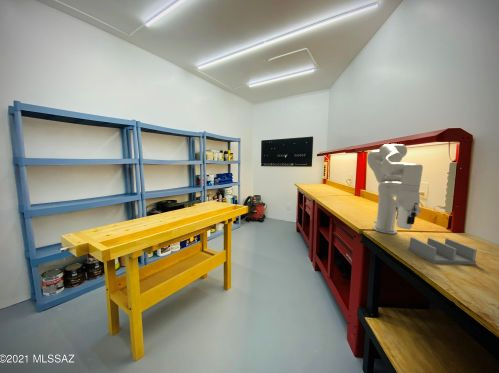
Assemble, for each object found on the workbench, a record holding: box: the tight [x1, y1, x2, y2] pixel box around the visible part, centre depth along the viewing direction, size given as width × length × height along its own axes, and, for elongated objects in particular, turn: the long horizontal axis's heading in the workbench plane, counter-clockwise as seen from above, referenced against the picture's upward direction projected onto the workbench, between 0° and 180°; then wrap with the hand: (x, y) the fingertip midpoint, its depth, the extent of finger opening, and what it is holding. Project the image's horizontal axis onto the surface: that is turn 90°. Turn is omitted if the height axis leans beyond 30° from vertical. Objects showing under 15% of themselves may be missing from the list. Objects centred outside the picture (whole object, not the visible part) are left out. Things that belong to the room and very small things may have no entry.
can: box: [395, 206, 414, 230], centre depth 99 cm, size 6×6×12 cm
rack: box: [407, 237, 478, 266], centre depth 86 cm, size 13×18×6 cm
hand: (404, 221), depth 99 cm, fingers closed on can, 6 cm apart
